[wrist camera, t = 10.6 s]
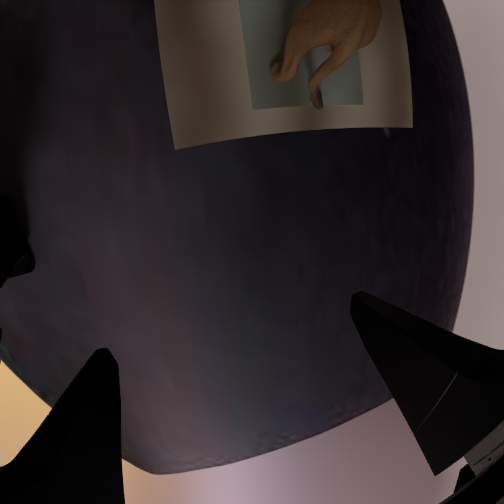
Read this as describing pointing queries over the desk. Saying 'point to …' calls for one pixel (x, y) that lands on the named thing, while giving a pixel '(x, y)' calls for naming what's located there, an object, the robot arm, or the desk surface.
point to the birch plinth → (260, 80)
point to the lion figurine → (327, 38)
